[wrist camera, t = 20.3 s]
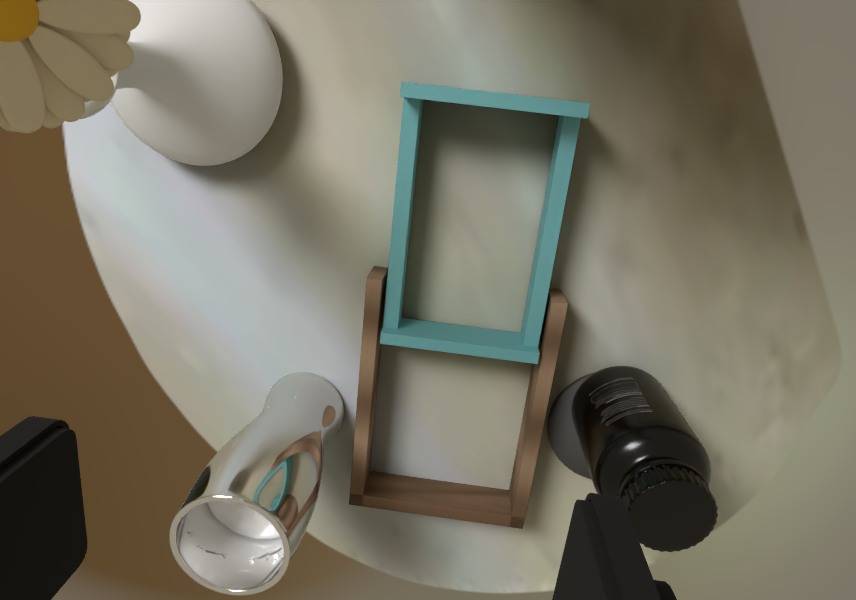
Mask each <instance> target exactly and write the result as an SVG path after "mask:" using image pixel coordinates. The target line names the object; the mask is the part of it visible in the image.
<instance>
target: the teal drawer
mask: <svg viewBox="0 0 856 600" xmlns="http://www.w3.org/2000/svg"><path fill="white" fill-rule="evenodd" d="M400 97H404V101H403V112H402V123H401V134H400V145H399V156H398V167H397V178H396V190H395V201H394V212H393V223H392V234H391V245H390V256H389V267H388V278H387V289H386V300H385V311H384V322H383V328H382V331H381V337H380V344H387V345H395V346H403V347H410V348H418V349H426V350H433V351H441V352H448V353H456V354H464V355H471V356H479V357H487V358H494V359H502V360H510V361H517V362H525V363H533V364H538V359H539V354H540V353H539V349H538V345H539V339H540V334H541V329H542V323H543V318H544V313H545V307H546V302H547V297H548V292H549V286H550V281H551V276H552V270H553V265H554V260H555V254H556V249H557V244H558V238H559V233H560V228H561V223H562V217H563V212H564V207H565V201H566V196H567V191H568V185H569V180H570V175H571V169H572V164H573V159H574V153H575V148H576V143H577V138H578V132H579V127H580V122H581V118H588V114H589V109H590V103H582V102H573V101H565V100H556V99H547V98H539V97H530V96H521V95H513V94H504V93H495V92H487V91H478V90H469V89H461V88H452V87H443V86H435V85H426V84H417V83H409V82H401V90H400ZM423 99H424V100H433V101H441V102H450V103H459V104H467V105H476V106H484V107H493V108H502V109H510V110H519V111H527V112H536V113H545V114H553V115H559V118H558V124H557V130H556V135H555V141H554V147H553V152H552V158H551V164H550V170H549V175H548V181H547V187H546V192H545V198H544V204H543V209H542V215H541V221H540V226H539V232H538V238H537V243H536V249H535V255H534V260H533V266H532V272H531V278H530V283H529V289H528V295H527V300H526V306H525V312H524V317H523V323H522V329H521V333H517V332H509V331H501V330H493V329H486V328H478V327H470V326H462V325H455V324H447V323H439V322H431V321H424V320H416V319H408V318H401V316H402V306H403V296H404V286H405V276H406V266H407V256H408V247H409V237H410V227H411V217H412V207H413V197H414V187H415V177H416V167H417V158H418V148H419V138H420V128H421V118H422V108H423Z"/></svg>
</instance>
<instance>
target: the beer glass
mask: <svg viewBox="0 0 856 600" xmlns="http://www.w3.org/2000/svg"><path fill="white" fill-rule="evenodd" d="M343 418H344V405H343V401H342V398H341V396H340V394H339V393H338V391H337V390H336V388H335V387H334V386H333V385H332V384H331V383H329V382H328V381H327V380H325V379H324V378H322V377H320V376H317V375H314V374H310V373H293V374H289V375H287V376H284V377H283V378H281V379H279V380H278V381H277V382H276V383H275V384H274V385H273V386H272V388H271V389H270V391H269V393H268V396H267V398H266V401H265V404H264V408H263V411H262V412H261V413H260V414H259V415H258V416H257V417H256V418H255V419H254V420H253V421H251V422H250V423H249V424H248V425H247V426H245V427H244V428H243V429H242V430H241V431H239V432H238V433H237V434H236V435H235V436H234V437H232V438H231V439H230V440H229V441H228V442H227V443H226V444H225V445H224V446H223V447H222V448H221V449H220V450H219V451H218V453H217V454H216V455H215V456H214V458H213V459H212V460H211V461H210V463H209V464H208V465H207V466H206V468H205V469H204V471H203V472H202V474H201V475H200V477H199V478H198V480H197V482H196V483H195V485H194V487H193V488H192V490H191V491H190V493H189V495H188V497H187V499H186V500H185V502H184V504H183V506H182V507H181V509H180V511H179V512H178V513H177V514H176V516H175V517H174V519H173V521H172V524H171V528H170V535H169V539H170V546H171V550H172V553H173V555H174V557H175V559H176V561H177V562H178V564H179V565H180V567H181V568H182V569H183V570H184V572H185V573H186V574H188V575H189V576H190V577H191V578H192V579H193V580H195V581H196V582H198V583H199V584H201V585H203V586H204V587H207V588H209V589H211V590H214V591H216V592H220V593H224V594H229V595H250V594H255V593H259V592H262V591H264V590H267V589H269V588H270V587H272V586H273V585H275V584H276V583H277V582H278V581H279V580H280V579H281V578H282V577H283V575H284V574H285V572H286V570H287V568H288V565H289V562H290V560H291V558H292V557H293V555H294V553H295V551H296V549H297V547H298V545H299V543H300V541H301V539H302V537H303V535H304V533H305V531H306V529H307V526H308V524H309V522H310V519H311V517H312V514H313V511H314V508H315V505H316V502H317V499H318V494H319V490H320V485H321V479H322V471H323V463H324V455H325V449H326V446H327V444H328V442H329V441H330V440H331V438H332V437H333V436H334V435H335V434H336V432H337V431H338V430H339V428H340V426H341V424H342V421H343Z"/></svg>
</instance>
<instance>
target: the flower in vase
mask: <svg viewBox="0 0 856 600" xmlns="http://www.w3.org/2000/svg"><path fill="white" fill-rule="evenodd" d="M282 86H283V73H282V63H281V58H280V53H279V49H278V46H277V43H276V40H275V37H274V35H273V33H272V31H271V29H270V26H269V25H268V23H267V21H266V20H265V18H264V16H263V15H262V13H261V12H260V11H259V9H258V8H257V7H256V5H255V4H254V3H253V2H252V1H251V0H0V126H1V127H3V128H4V129H6V130H8V131H15V132H16V131H19V132H22V133H31V132H34V131H36V130H38V129H39V128H40V127H41V125H42V126H44V127H47V128H55V127H58V126H60V125H61V124H62V123H63V122H64V121H67V122H73V121H76V120H79V119H83V118H87V117H90V116H92V115H94V114H96V113H98V112H99V111H100V110H102V109H103V108H104V107H105V106H106V105H107V104H108V103H109V102H110V101H111V103H112V105H113V107H114V109H115V111H116V112H117V114H118V115H119V117H120V118H121V120H122V121H123V123H124V124H125V125H126V126H127V127H128V128H129V130H130V131H131V132H132V133H133V134H134V135H135V136H136V137H137V138H139V139H140V140H141V141H142V142H143V143H145V144H146V145H148V146H149V147H150V148H152V149H153V150H155V151H157V152H158V153H160V154H162V155H164V156H165V157H168V158H170V159H173V160H175V161H178V162H182V163H185V164H190V165H198V166H211V165H218V164H223V163H226V162H230V161H233V160H235V159H237V158H239V157H241V156H243V155H244V154H246V153H247V152H249V151H250V150H252V149H253V148H254V147H255V146H256V145H257V144H258V143H259V142H260V141H261V140H262V139H263V137H264V136H265V135H266V134H267V132H268V130H269V129H270V127H271V126H272V124H273V122H274V119H275V117H276V115H277V112H278V109H279V105H280V101H281V95H282Z"/></svg>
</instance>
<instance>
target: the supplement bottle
mask: <svg viewBox="0 0 856 600" xmlns="http://www.w3.org/2000/svg"><path fill="white" fill-rule="evenodd" d="M571 412H572V419H573V423H574V427H575V430H576V433H577V436H578V439H579V442H580V445H581V448H582V451H583V454H584V457H585V460H586V463H587V466H588V469H589V472H590V475H591V478H592V481H593V484H594V487H595V489H596V491H597V494H601V495H609V496H616V497H620V498H622V500H623V501H624V504H625V506H626V509H627V512H628V514H629V517H630V520H631V522H632V525H633V527H634V530H635V533H636V535H637V538H638V541H639V543H641V544H644V546H645V547H648V548H651V549H653V550H659V551H661V552H663V551H668V552H672V551H680V550H682V549H688V548H689V547H691V546H695V545H696V544H697V543H699V542H701V541H703V540H704V538H705V537H707V536H708V535H709V533H710V532H711V531H712V530H713V527H714V525H715V524H716V518H717V516H718V514H717V509H718V508H717V505H716V502H715V499H714V497H713V495H712V494H711V492H710V490H709V487H708V485H709V481H710V472H711V469H710V462H709V458H708V455H707V453H706V451H705V449H704V447H703V446H702V444H701V442H700V441H699V439H698V438H697V437H696V435H695V434H694V432H693V431H692V429H691V428H690V426H689V425H688V423H687V422H686V420H685V419H684V417H683V416H682V414H681V413H680V412H679V410H678V409H677V407H676V406H675V404H674V403H673V401H672V400H671V398H670V397H669V395H668V394H667V392H666V391H665V390H664V388H663V387H662V386H661V384H660V383H659V382H658V381H657V380H656V379H655V378H654V377H653V376H652V375H650V374H649V373H647V372H645V371H643V370H641V369H638V368H634V367H629V366H615V367H609V368H605V369H603V370H600V371H598V372H596V373H594V374H592V375H591V376H590V377H588V378H587V379H586V380H585V381H584V382H583V383H582V384H581V385H580V387H579V388H578V390H577V391H576V393H575V395H574V398H573V402H572V408H571Z"/></svg>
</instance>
